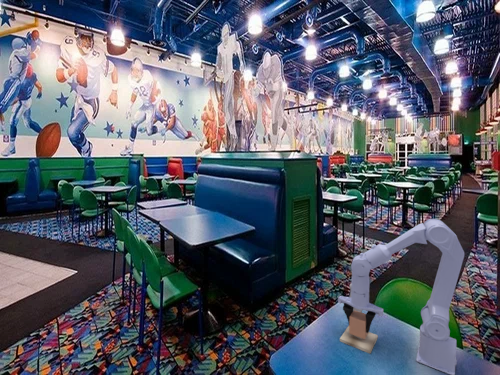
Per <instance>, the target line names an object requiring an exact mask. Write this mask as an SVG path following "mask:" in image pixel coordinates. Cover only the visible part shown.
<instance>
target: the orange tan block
mask: <svg viewBox="0 0 500 375" xmlns="http://www.w3.org/2000/svg"><path fill="white" fill-rule="evenodd" d="M348 326H349V333H350V334H352V335H355V336H358V337H360V338H363V339H365V338H366V336H367V334H368V333H369V332H370V331H369V332H368V333H366V313H365V312H362V313H361V312H358V311H355V310H354V311H353V312H352V314H351V315H350V319H349V323H348Z"/></svg>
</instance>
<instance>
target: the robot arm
mask: <svg viewBox="0 0 500 375" xmlns="http://www.w3.org/2000/svg"><path fill="white" fill-rule="evenodd" d="M427 241H428V242H429V243H430V244H432V245H433V246H435V247H437V248H438V250H439V251H440V252H441V257H440V262H439V265H438V269H437V271H436V276H435V279H434V283H433V287H432V292H431V293H430V298H429V299H428V300H427V302H426V304H425V306H424V307H422V308H421V311H420V316H421V319H422V323H421V325H420V327H419V340H418V341H419V343H418V344H419V346H418V348H417V354H416V359H415V361H416V362H417V363H419V364H422V365H425V366H427V367H430V368H433V369H434V370H435V369H436V370H437V371H439V372H443V373H445V374H448V375H456V366H457V364H458V359H457V358H456V357H457V339H456V338H453V337H451V336H450V333H451V330H450V328H449V322H450V308H451V307H450V306H451V303H452V299H453V297H454V293H455V290H456V287H457V286H456V285H457V282H458V279H459V276H460V272H461V268H462V265H463V262H464V258H465V251H464V249H463V247H462V245H461V243H460V241H459V239H458V235H456V233H455V232H454V231H453V230H452V229H451V228H450V227H449V226H448V225H447V224H446V223H445V222H443V221H442V220H440V219H437V218H430V219H427V220H426V221H424V222H421V223H418V224H417V225H415V226H413V228H410V229H409V230H407V231H405V232H404V233H402V234H401V235H400V236H397V237H396V238H395V239H392V240H391V241H390V242H388V243H387V244H381V243H379V244H377V245H376V244H372V246H371V248H370V249H368V250H367V251H365V252H361V253H359V254H358V255H356V256H354V258H353V259H352V262H351V264H350V268H351V283H350V284H351V290H350V292H351V298H350V296H349V297H348V296H343V295H340V296H338V297H337V303H338V304H343V306H342V310H343V312H344V313H345V315H346V319H347V323H348V324H349V319H350V315H351V314H352V312H353V308H356V309H360V310H362V311H366V313H365V314H366V333H368V332H370V328H371V325H372V322H373V320H374V319H375V317H376V315H378V317H383V315H384V308H382V307H379V306H377V305H375V304H373V303H371V302H370V281H371V280H370V273H371V270H373V269H376V268H378V267H379V266H382V265H384V264H386V263H388V262H389V261H391V259H392V255H393V254H395V253H397V252H400V251H402V250H403V249H405V248H407V247H410V246H411V245H413V244H424V245H428V242H427Z"/></svg>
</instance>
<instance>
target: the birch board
mask: <svg viewBox="0 0 500 375" xmlns="http://www.w3.org/2000/svg"><path fill="white" fill-rule="evenodd" d="M378 339H379V336H378V334H375V333H372V332H370V331H369V333H368V334H367V336H366V338H365V339H362V340H360V339H357V338H355V337H354V335H352V334H350V333H349V325H348V326H347V327H346V329H345V330H344V332H343V333H342V335H341V336H340V337H339V342H341V343H342V344H345V345H348V346H350V347H353V348H355V349H357V350H359V351H362V352H365V353H367V354H370V355H371V354H372V351H373V349H374V348H375V345H376V342H377V340H378Z"/></svg>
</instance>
